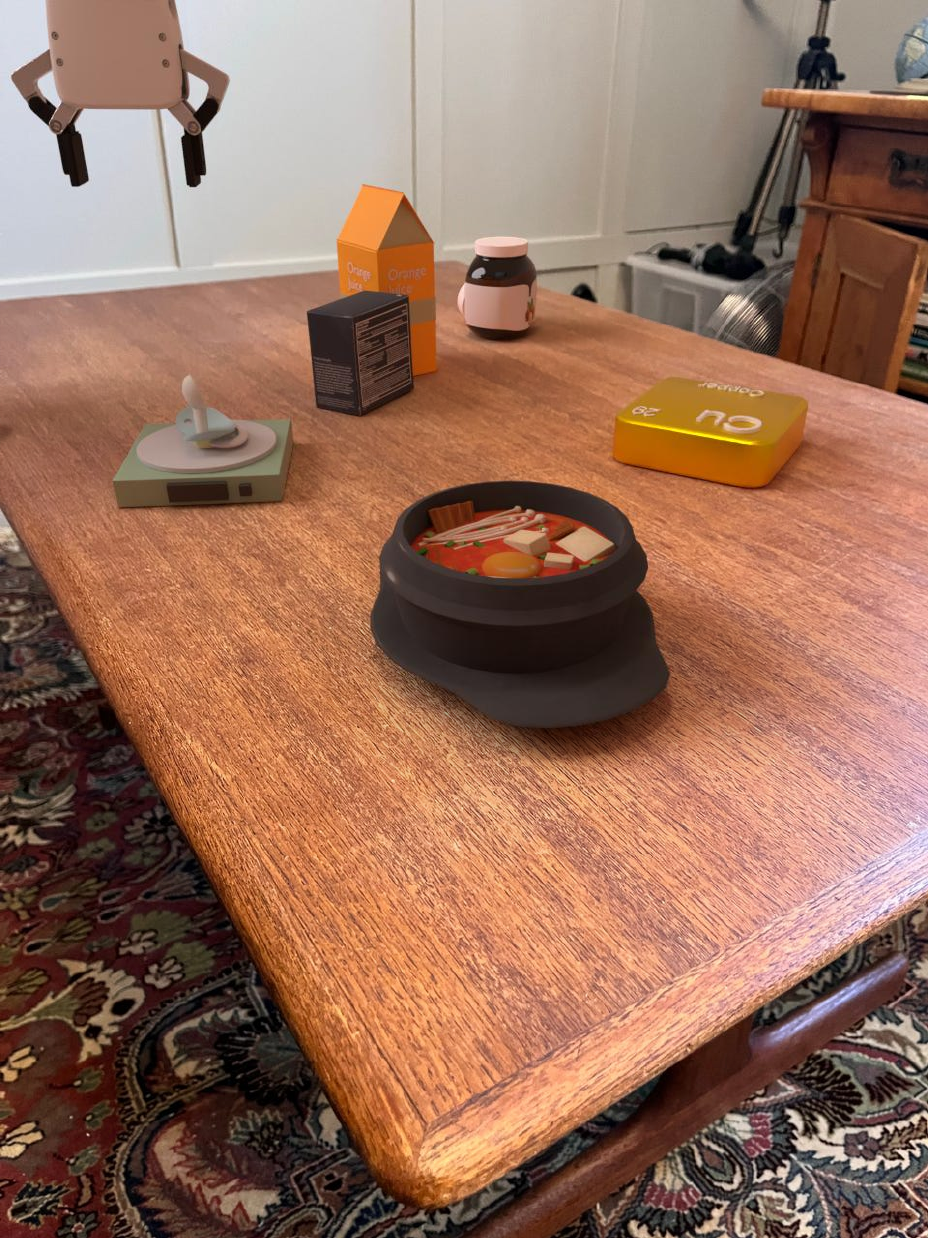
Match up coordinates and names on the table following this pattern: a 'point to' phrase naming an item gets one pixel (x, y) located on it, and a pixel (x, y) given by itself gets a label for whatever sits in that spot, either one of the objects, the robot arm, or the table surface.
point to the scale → (205, 467)
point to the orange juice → (392, 263)
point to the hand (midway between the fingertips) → (137, 184)
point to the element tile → (710, 431)
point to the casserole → (521, 603)
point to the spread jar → (499, 289)
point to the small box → (361, 351)
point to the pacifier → (205, 421)
